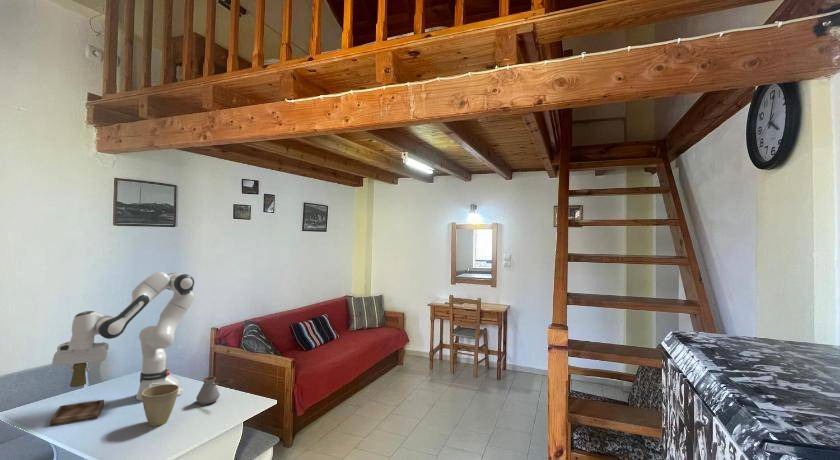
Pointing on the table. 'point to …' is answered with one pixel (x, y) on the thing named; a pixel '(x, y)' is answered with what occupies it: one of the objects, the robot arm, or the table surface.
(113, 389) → the table surface
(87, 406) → the walnut tray
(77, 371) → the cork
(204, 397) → the coffee pot
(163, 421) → the plant pot
